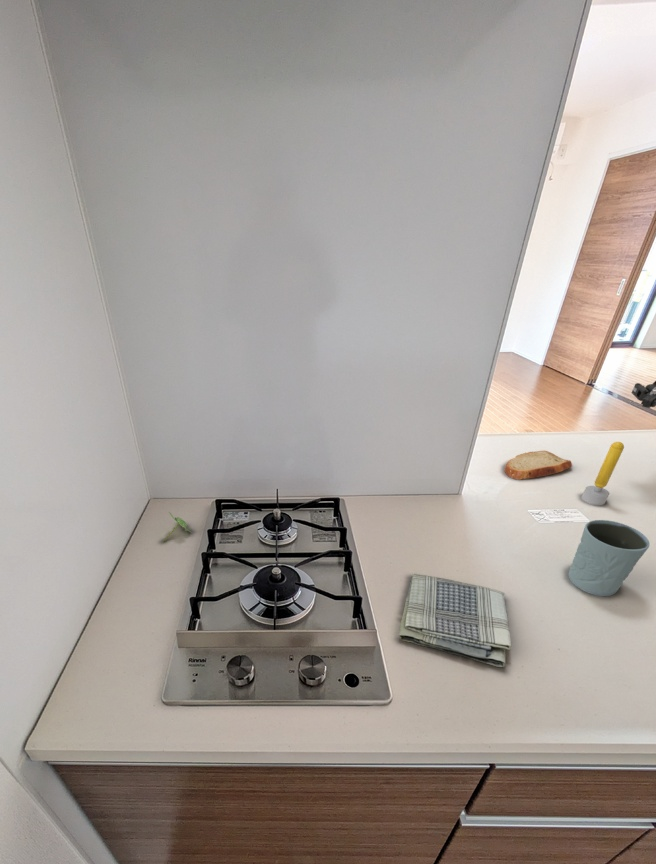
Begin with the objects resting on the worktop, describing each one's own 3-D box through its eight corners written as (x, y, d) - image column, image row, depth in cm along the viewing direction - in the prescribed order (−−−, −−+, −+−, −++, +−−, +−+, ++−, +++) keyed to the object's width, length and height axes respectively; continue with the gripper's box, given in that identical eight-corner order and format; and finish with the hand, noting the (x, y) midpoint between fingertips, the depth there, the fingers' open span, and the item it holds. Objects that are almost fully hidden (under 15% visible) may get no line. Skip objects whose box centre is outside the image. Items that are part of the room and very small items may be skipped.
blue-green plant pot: (557, 581, 89) (578, 534, 82) (572, 558, 95) (593, 513, 88) (615, 607, 83) (644, 558, 76) (627, 580, 89) (655, 533, 82)
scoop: (603, 497, 115) (630, 440, 106) (605, 507, 111) (634, 448, 102) (580, 493, 117) (605, 436, 108) (582, 502, 113) (607, 444, 104)
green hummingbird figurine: (175, 551, 107) (191, 530, 109) (177, 551, 100) (194, 528, 101) (151, 533, 106) (168, 512, 108) (151, 532, 99) (169, 509, 100)
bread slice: (504, 478, 125) (508, 466, 123) (503, 452, 139) (506, 441, 137) (576, 489, 119) (581, 477, 117) (567, 461, 133) (572, 450, 131)
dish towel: (409, 576, 91) (411, 564, 89) (503, 597, 85) (507, 585, 84) (396, 643, 77) (399, 630, 75) (508, 674, 71) (514, 661, 69)
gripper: (651, 365, 115) (623, 381, 107) (714, 378, 106) (688, 396, 99) (638, 393, 120) (610, 410, 112) (698, 407, 111) (672, 426, 103)
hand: (647, 403), depth 105 cm, fingers closed
